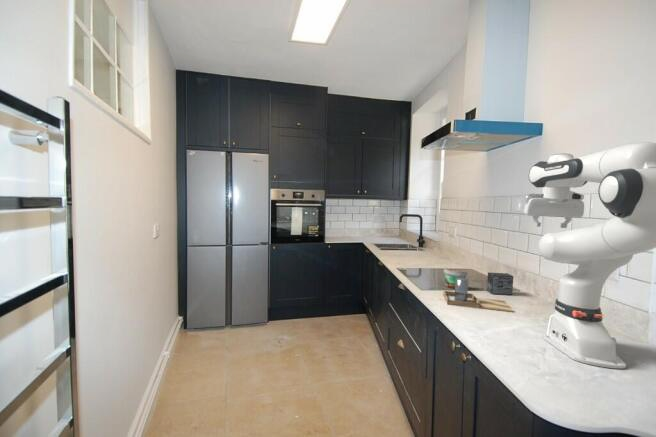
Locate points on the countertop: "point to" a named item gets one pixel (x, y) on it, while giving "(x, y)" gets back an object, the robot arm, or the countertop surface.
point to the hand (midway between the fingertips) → (550, 227)
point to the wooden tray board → (478, 302)
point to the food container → (453, 277)
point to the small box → (500, 283)
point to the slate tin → (461, 289)
